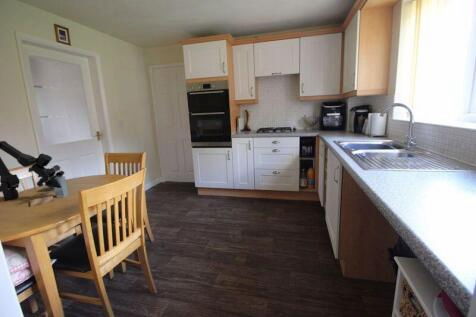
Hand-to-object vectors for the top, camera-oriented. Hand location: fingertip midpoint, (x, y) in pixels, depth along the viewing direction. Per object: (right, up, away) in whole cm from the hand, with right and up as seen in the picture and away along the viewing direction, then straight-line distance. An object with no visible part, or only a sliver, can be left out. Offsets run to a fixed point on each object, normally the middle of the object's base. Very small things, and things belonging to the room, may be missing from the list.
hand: (62, 186), depth 152 cm
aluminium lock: (-1, -6, +1) cm, 7 cm away
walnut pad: (-7, -9, -8) cm, 13 cm away
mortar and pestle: (-17, -4, +16) cm, 24 cm away
